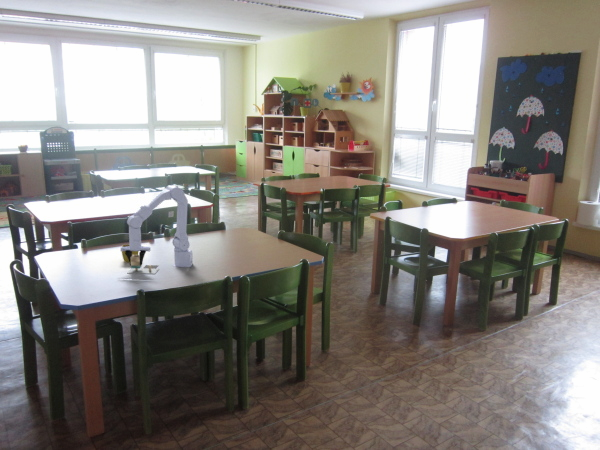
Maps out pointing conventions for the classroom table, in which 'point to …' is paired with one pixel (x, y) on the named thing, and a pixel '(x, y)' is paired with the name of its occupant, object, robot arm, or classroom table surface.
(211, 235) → the classroom table surface
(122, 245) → the flower pot
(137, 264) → the sleeve
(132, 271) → the pin board
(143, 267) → the pad
